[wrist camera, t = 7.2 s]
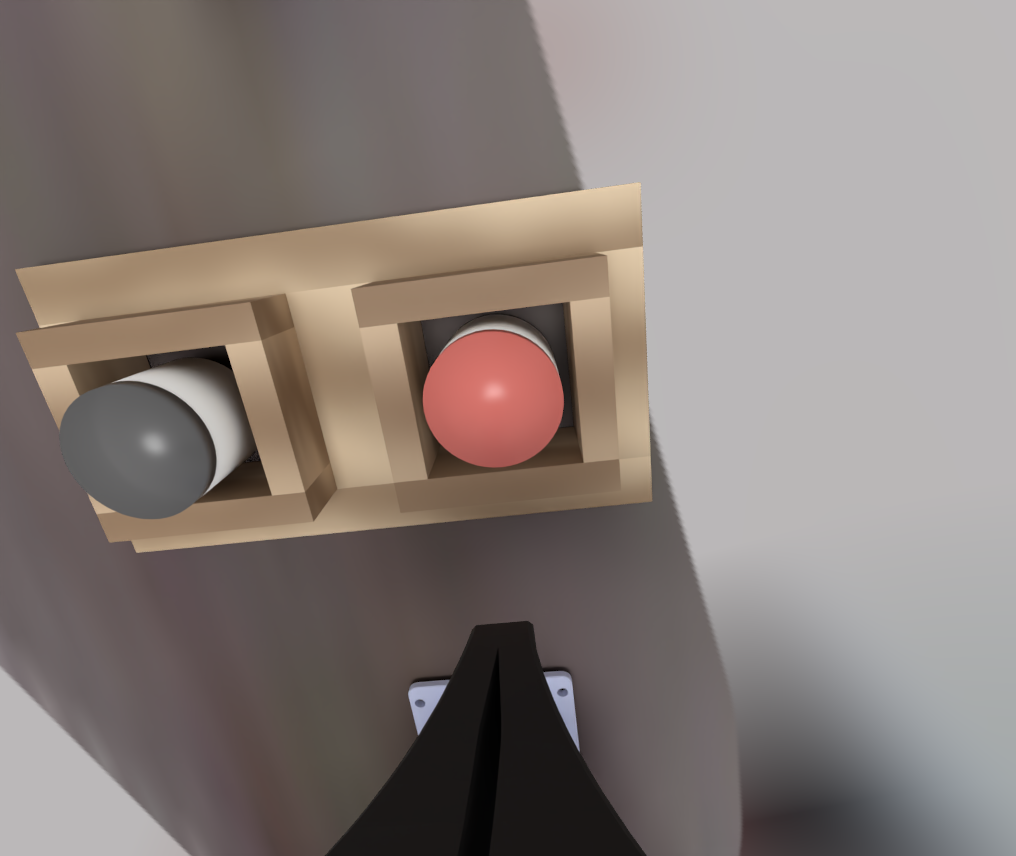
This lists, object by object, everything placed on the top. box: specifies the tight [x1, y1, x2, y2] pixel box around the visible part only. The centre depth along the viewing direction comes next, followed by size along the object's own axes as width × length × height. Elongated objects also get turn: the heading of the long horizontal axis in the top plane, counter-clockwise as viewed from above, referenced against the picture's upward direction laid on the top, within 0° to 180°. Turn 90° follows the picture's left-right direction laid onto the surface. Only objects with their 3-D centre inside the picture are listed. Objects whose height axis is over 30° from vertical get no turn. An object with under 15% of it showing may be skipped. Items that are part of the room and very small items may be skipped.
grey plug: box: [59, 357, 257, 519], centre depth 18 cm, size 4×4×4 cm
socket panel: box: [15, 182, 652, 553], centre depth 19 cm, size 12×22×4 cm, turn 97°
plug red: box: [423, 314, 564, 468], centre depth 18 cm, size 4×4×4 cm
